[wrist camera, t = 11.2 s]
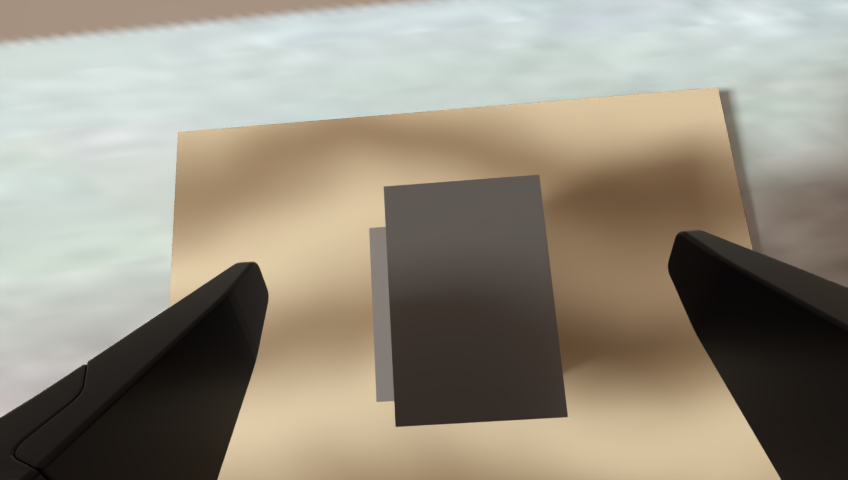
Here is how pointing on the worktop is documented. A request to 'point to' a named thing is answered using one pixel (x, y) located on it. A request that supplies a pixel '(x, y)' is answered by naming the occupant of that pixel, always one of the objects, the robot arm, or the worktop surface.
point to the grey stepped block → (465, 304)
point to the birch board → (570, 270)
